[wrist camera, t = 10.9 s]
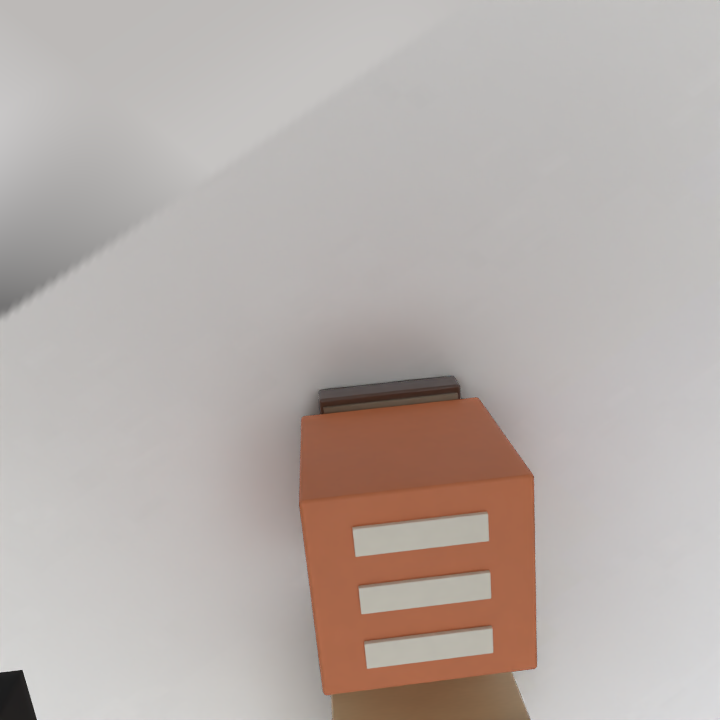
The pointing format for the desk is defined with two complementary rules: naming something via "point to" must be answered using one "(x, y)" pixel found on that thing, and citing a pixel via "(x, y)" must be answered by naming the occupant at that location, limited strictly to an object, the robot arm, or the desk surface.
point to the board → (432, 699)
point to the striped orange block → (417, 545)
